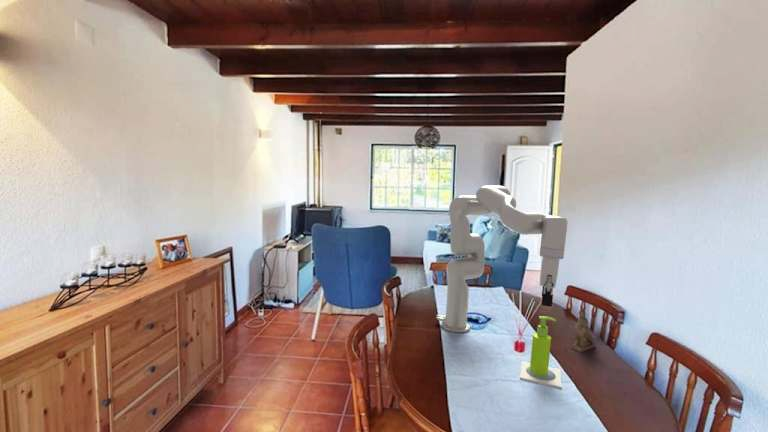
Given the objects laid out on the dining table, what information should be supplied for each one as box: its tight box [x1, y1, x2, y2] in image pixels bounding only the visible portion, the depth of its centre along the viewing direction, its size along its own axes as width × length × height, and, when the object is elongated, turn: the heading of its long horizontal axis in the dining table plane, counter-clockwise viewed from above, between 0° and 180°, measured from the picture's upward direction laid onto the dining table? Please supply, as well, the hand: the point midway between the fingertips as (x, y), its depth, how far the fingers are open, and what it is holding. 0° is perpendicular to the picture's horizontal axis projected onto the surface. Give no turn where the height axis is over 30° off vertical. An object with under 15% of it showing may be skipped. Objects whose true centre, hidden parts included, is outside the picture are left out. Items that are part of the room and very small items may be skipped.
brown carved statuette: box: [570, 310, 596, 353], centre depth 157 cm, size 12×6×18 cm, turn 121°
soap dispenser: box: [529, 315, 557, 376], centre depth 133 cm, size 6×7×20 cm
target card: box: [519, 360, 563, 390], centre depth 134 cm, size 13×13×1 cm
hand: (546, 301), depth 131 cm, fingers open, 9 cm apart
